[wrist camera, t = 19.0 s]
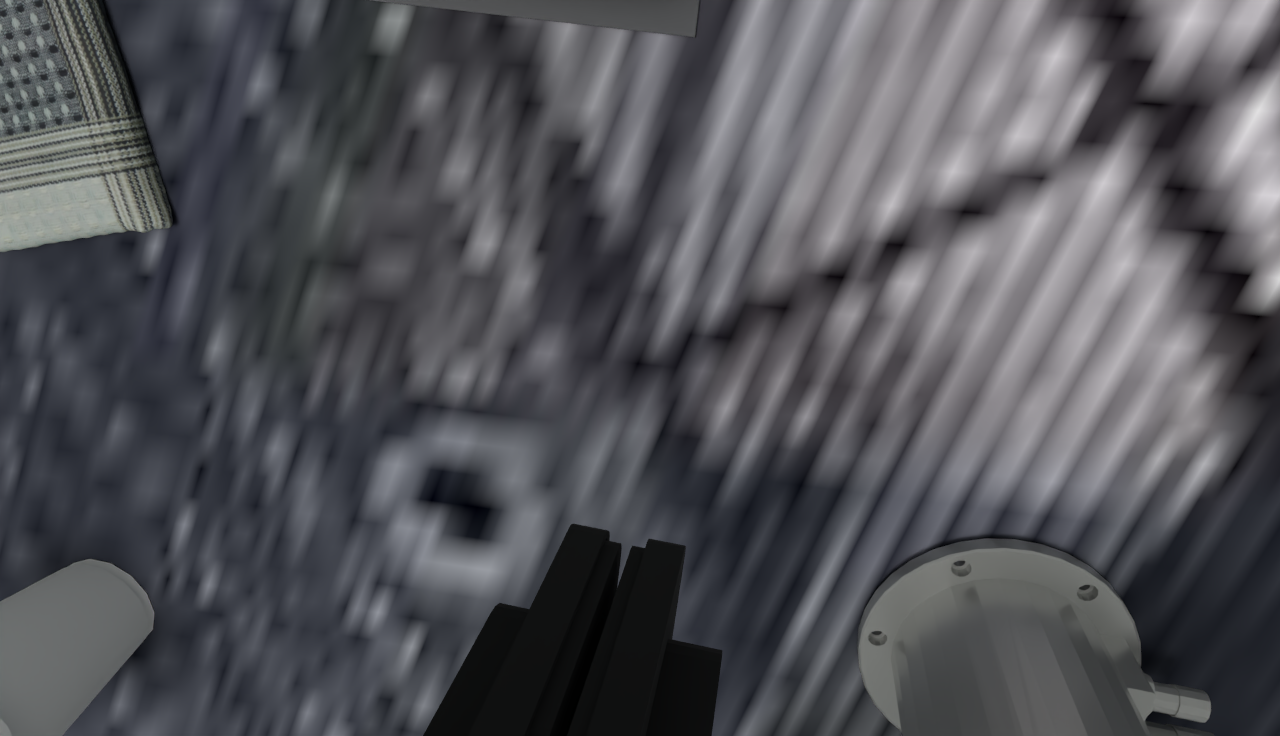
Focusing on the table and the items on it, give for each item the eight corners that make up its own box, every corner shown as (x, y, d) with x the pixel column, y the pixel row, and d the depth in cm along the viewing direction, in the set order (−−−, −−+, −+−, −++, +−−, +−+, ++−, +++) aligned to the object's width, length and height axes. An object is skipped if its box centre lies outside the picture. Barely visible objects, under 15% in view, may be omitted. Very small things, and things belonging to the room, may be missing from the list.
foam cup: (126, 524, 47) (-101, 684, 35) (204, 650, 50) (17, 838, 38) (12, 554, 50) (-235, 713, 38) (92, 672, 53) (-116, 855, 41)
